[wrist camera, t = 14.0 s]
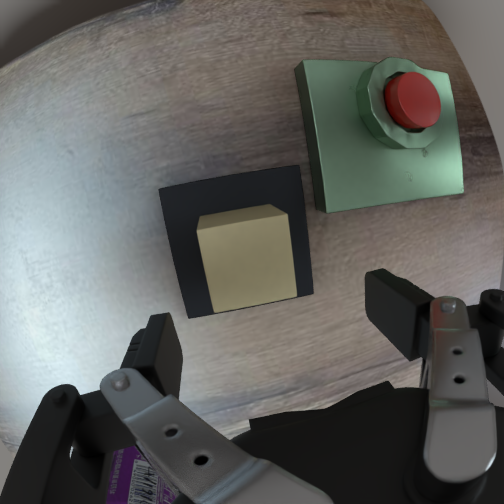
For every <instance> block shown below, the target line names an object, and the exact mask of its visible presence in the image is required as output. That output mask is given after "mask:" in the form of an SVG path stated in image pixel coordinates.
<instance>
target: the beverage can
mask: <svg viewBox="0 0 504 504" xmlns="http://www.w3.org/2000/svg"><path fill="white" fill-rule="evenodd" d="M175 498H176V495H175V494H174V493H173V492H172V491H171V490H170V489H169V487H168V486H167V485H166V484H165V483H164V482H163V480H162V479H161V478H160V477H159V476H158V475H157V473H156V472H155V471H154V470H153V469H152V467H151V466H150V465H149V464H148V463H147V461H146V460H145V459H144V458H143V456H142V455H141V454H140V453H139V451H138V450H137V449H136V447H135V446H131V447H128V448H124V449H121V450H117V451H114V453H113V459H112V465H111V471H110V478H109V485H108V492H107V499H106V504H171V503H172V502H173V501H174V499H175Z"/></svg>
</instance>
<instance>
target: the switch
mask: <svg viewBox="0 0 504 504" xmlns="http://www.w3.org/2000/svg"><path fill="white" fill-rule="evenodd" d="M385 103H386V107H387V109H388V111H389V113H390V115H391V116H392V118H393V119H394V120H395V121H396V122H397V123H398V124H400V125H401V126H403V127H405V128H408V129H417V128H425V127H430V126H432V125H434V124H435V123H436V122H437V120H438V119H439V116H440V113H441V102H440V97H439V94H438V92H437V90H436V88H435V86H434V85H433V84H432V82H431V81H430V80H429V79H428V78H427V77H425V76H424V75H422V74H420V73H417V72H407V73H405V74H402V75H400V76H397V77H395V78H393V79H391V80H390V81H389V82H388V84H387V86H386V88H385Z"/></svg>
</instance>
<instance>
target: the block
mask: <svg viewBox="0 0 504 504" xmlns="http://www.w3.org/2000/svg"><path fill="white" fill-rule="evenodd" d="M197 236H198V241H199V246H200V250H201V255H202V260H203V265H204V270H205V274H206V279H207V283H208V288H209V293H210V297H211V301H212V306H213V310H214V313H218V312H223V311H228V310H234V309H239V308H244V307H249V306H254V305H259V304H264V303H269V302H274V301H279V300H284V299H288V298H293V297H297V290H296V281H295V271H294V263H293V254H292V246H291V238H290V230H289V222H288V215H287V214H286V213H284V212H283V211H281V210H279V209H278V208H276V207H274V206H272V205H271V204H267V205H261V206H255V207H249V208H243V209H237V210H232V211H226V212H220V213H215V214H210V215H204V216H200V218H199V222H198V227H197Z"/></svg>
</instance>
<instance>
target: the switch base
mask: <svg viewBox="0 0 504 504" xmlns="http://www.w3.org/2000/svg"><path fill="white" fill-rule="evenodd" d="M294 70H295V75H296V80H297V85H298V91H299V96H300V102H301V107H302V113H303V119H304V125H305V131H306V138H307V144H308V151H309V158H310V165H311V172H312V179H313V187H314V195H315V204H316V210H319V211H321V212H324V213H327V214H328V213H334V212H340V211H347V210H353V209H359V208H366V207H372V206H379V205H385V204H392V203H399V202H406V201H412V200H419V199H427V198H434V197H441V196H448V195H456V194H463V193H464V188H463V170H462V157H461V147H460V138H459V131H458V124H457V117H456V111H455V105H454V100H453V95H452V90H451V85H450V80H449V76H448V73H444V72H439V71H434V70H428V69H422V68H420V67H419V66H418V65H416V64H415V63H414V62H412V61H411V60H409V59H402V58H395V57H388V58H386V59H384V60H382V61H380V62H378V63H377V62H365V61H350V60H302V61H301V62H300V63H299V64H298V65H297V66H296V68H295V69H294ZM407 72H417V73H420V74H422V75H424V76H425V77H427V78H428V79H429V80H430V81H431V82H432V84H433V85H434V86H435V88H436V90H437V92H438V94H439V97H440V102H441V113H440V116H439V119H438V120H437V122H436V123H435V124H434V125H432V126H430V127H425V128H417V129H408V128H405V127H403V126H401V125H400V124H398V123H397V122H396V121H395V120H394V119H393V118H392V116H391V115H390V113H389V111H388V109H387V107H386V103H385V88H386V86H387V84H388V82H389V81H390V80H391V79H393V78H395V77H397V76H400V75H402V74H405V73H407Z"/></svg>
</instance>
